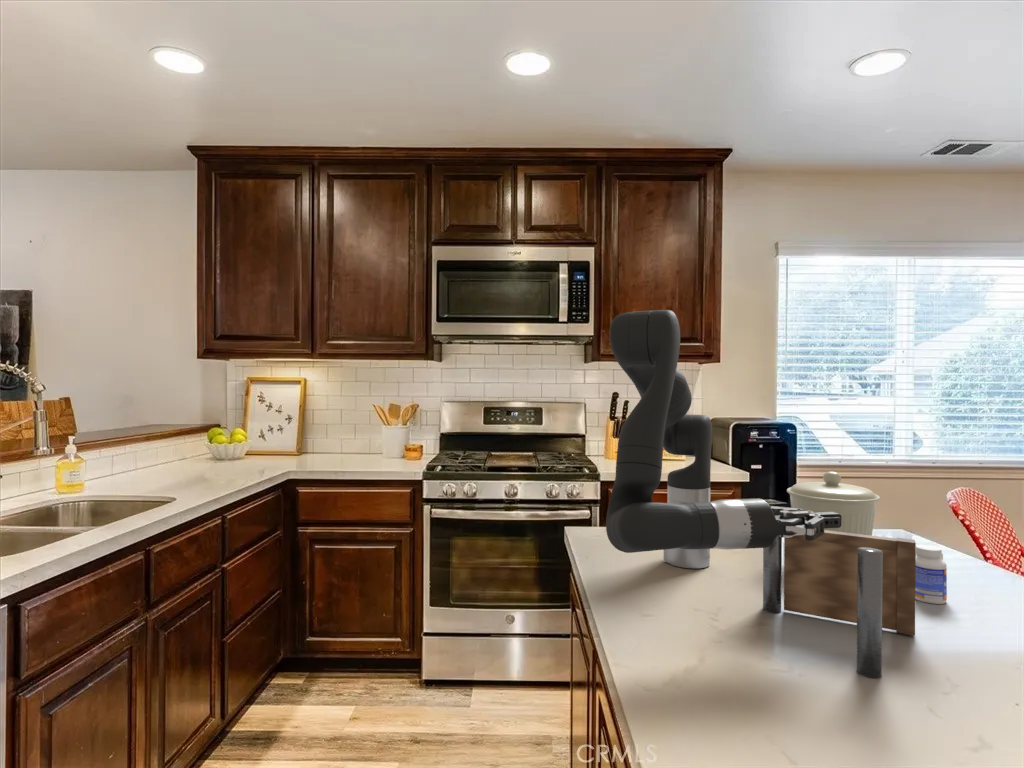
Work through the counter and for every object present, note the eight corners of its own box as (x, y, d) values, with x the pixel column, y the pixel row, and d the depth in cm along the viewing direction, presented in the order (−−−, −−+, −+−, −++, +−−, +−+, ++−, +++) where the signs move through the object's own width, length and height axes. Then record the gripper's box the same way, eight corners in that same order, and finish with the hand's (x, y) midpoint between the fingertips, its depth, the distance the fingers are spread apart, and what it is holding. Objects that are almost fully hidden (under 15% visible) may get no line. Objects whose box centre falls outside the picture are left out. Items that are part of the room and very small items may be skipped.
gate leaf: (783, 611, 104) (784, 527, 104) (785, 606, 106) (785, 524, 106) (914, 635, 94) (915, 542, 94) (913, 630, 96) (914, 539, 96)
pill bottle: (952, 605, 109) (953, 552, 109) (919, 603, 110) (919, 550, 110) (937, 595, 114) (938, 544, 114) (906, 593, 115) (906, 542, 115)
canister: (898, 581, 122) (899, 478, 122) (809, 580, 123) (810, 477, 123) (850, 556, 140) (851, 466, 140) (772, 555, 141) (773, 465, 141)
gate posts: (759, 606, 107) (760, 512, 107) (774, 606, 108) (775, 512, 108) (867, 679, 81) (867, 553, 81) (887, 677, 81) (887, 552, 81)
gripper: (759, 509, 86) (869, 505, 88) (715, 491, 99) (811, 488, 101) (759, 561, 86) (868, 555, 88) (715, 536, 99) (811, 531, 101)
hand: (838, 519), depth 95 cm, fingers closed
